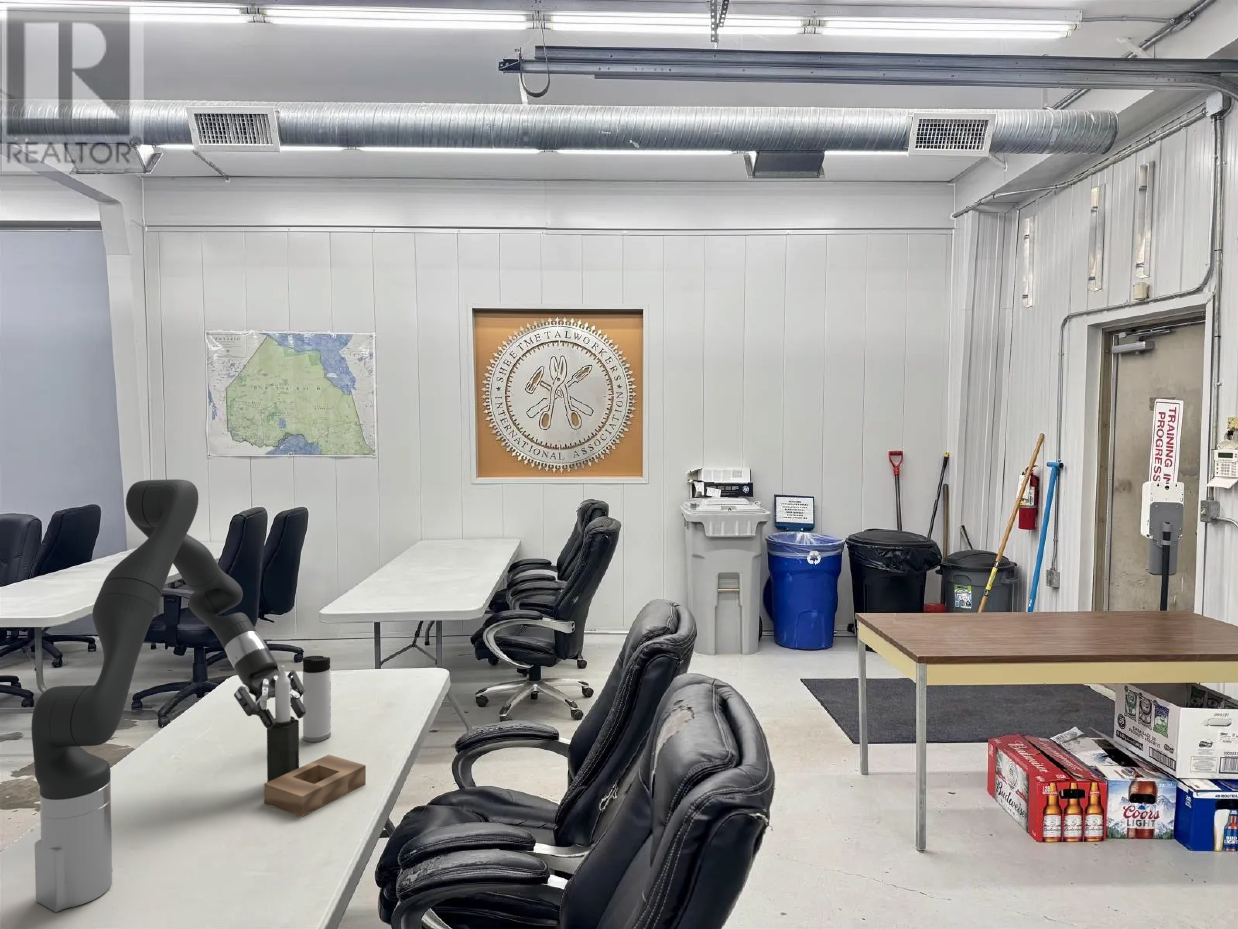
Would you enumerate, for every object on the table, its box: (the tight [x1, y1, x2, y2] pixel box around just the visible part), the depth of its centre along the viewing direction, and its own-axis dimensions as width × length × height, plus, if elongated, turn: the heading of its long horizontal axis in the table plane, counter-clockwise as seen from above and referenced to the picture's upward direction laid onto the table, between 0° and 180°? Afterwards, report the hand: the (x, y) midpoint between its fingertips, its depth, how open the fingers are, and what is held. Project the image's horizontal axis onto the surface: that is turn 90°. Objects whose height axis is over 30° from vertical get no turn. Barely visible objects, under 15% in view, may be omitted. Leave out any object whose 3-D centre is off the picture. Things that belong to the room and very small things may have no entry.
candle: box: [266, 664, 300, 783], centre depth 162 cm, size 5×5×25 cm
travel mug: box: [302, 655, 332, 743], centre depth 186 cm, size 6×7×20 cm
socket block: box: [263, 754, 367, 818], centre depth 158 cm, size 16×11×4 cm
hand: (288, 721), depth 161 cm, fingers open, 6 cm apart
